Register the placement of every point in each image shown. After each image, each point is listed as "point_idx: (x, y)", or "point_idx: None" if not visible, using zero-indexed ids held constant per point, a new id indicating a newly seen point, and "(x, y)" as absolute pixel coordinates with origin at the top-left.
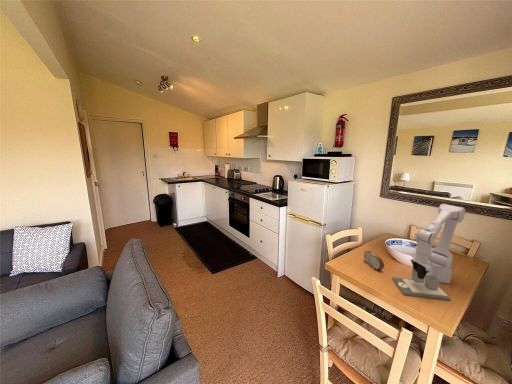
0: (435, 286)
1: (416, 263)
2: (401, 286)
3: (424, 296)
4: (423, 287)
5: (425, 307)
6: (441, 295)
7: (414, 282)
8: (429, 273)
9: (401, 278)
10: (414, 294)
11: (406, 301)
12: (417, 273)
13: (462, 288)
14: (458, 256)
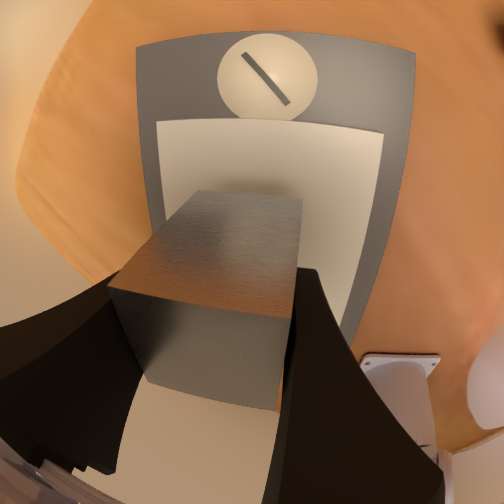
0: None
1: (271, 483)
2: (229, 49)
3: (150, 199)
4: None
5: (71, 154)
6: None
7: (321, 224)
8: (407, 380)
9: (403, 139)
10: (139, 127)
11: (89, 55)
12: (124, 278)
13: None
14: (456, 446)
